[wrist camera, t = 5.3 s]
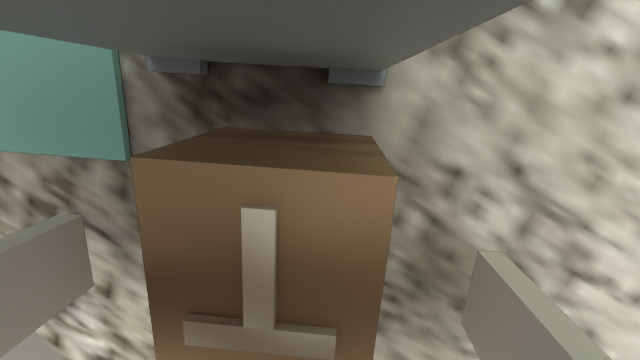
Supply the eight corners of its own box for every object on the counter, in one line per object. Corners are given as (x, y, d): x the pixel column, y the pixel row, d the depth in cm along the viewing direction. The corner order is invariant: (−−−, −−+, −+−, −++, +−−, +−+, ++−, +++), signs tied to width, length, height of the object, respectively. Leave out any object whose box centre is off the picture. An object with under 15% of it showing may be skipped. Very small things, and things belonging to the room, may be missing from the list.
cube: (227, 126, 15) (121, 159, 8) (371, 136, 14) (400, 180, 7) (231, 253, 17) (151, 371, 10) (357, 264, 16) (369, 395, 9)
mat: (-66, -31, 13) (-78, -34, 13) (108, -22, 13) (101, -26, 12) (-17, 147, 16) (-26, 148, 15) (131, 159, 15) (126, 160, 15)
